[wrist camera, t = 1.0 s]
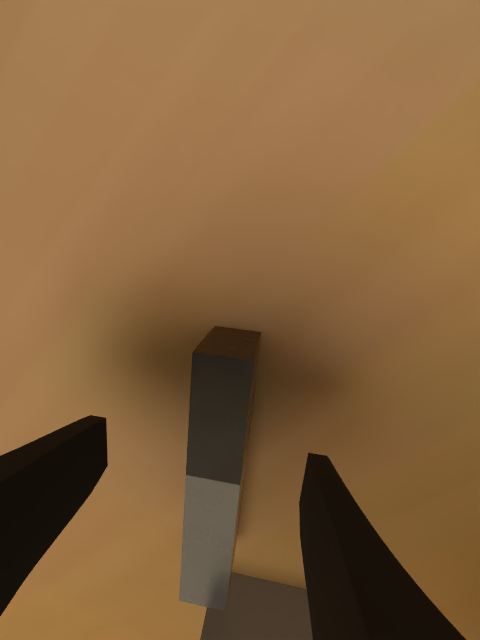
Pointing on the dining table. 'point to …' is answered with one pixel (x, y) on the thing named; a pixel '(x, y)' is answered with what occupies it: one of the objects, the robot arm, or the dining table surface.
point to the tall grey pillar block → (216, 461)
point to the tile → (260, 612)
